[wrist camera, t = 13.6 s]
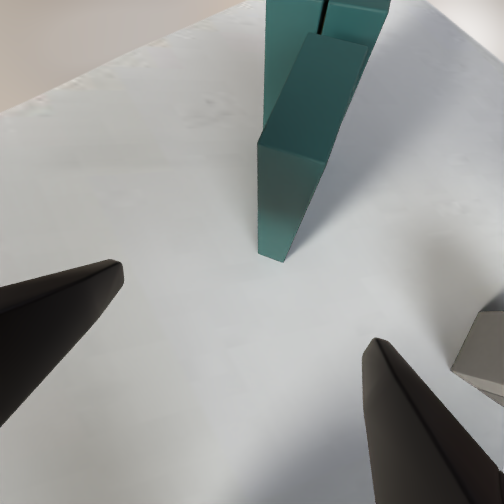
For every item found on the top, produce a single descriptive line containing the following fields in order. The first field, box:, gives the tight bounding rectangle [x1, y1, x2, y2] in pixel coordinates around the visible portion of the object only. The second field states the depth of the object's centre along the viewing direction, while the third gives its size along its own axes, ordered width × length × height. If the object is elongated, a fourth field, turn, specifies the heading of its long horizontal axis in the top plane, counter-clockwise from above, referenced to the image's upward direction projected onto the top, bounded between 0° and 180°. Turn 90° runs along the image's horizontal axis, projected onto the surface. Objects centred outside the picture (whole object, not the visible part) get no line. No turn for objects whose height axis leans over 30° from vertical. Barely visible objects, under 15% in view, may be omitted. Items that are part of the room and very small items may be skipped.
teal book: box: [257, 32, 368, 262], centre depth 15 cm, size 6×2×14 cm, turn 159°
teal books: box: [263, 0, 391, 129], centre depth 17 cm, size 6×5×14 cm
